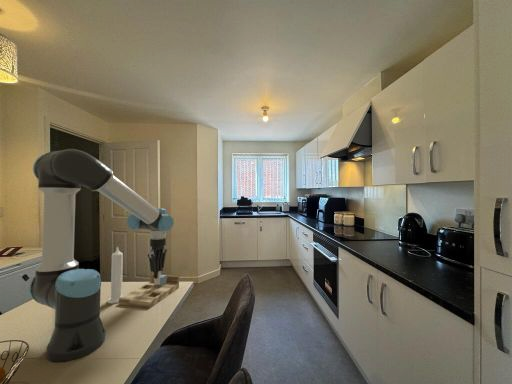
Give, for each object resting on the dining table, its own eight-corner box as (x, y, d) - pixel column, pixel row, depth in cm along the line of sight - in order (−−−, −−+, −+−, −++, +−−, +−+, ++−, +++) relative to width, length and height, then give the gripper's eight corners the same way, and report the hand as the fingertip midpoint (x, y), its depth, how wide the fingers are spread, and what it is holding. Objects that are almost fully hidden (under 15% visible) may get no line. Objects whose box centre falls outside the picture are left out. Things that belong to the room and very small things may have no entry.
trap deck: (149, 308, 101) (150, 294, 101) (118, 304, 104) (119, 291, 104) (178, 287, 125) (179, 276, 125) (152, 285, 128) (152, 274, 128)
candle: (119, 303, 105) (120, 248, 106) (103, 303, 105) (105, 248, 106) (128, 297, 112) (129, 245, 113) (113, 296, 112) (114, 245, 113)
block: (161, 286, 119) (161, 277, 119) (154, 285, 120) (154, 277, 120) (166, 283, 123) (166, 275, 124) (159, 282, 124) (159, 274, 124)
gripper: (156, 240, 112) (155, 289, 112) (171, 236, 125) (170, 280, 124) (143, 240, 114) (142, 288, 113) (159, 235, 127) (158, 279, 126)
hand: (157, 284), depth 119 cm, fingers closed
